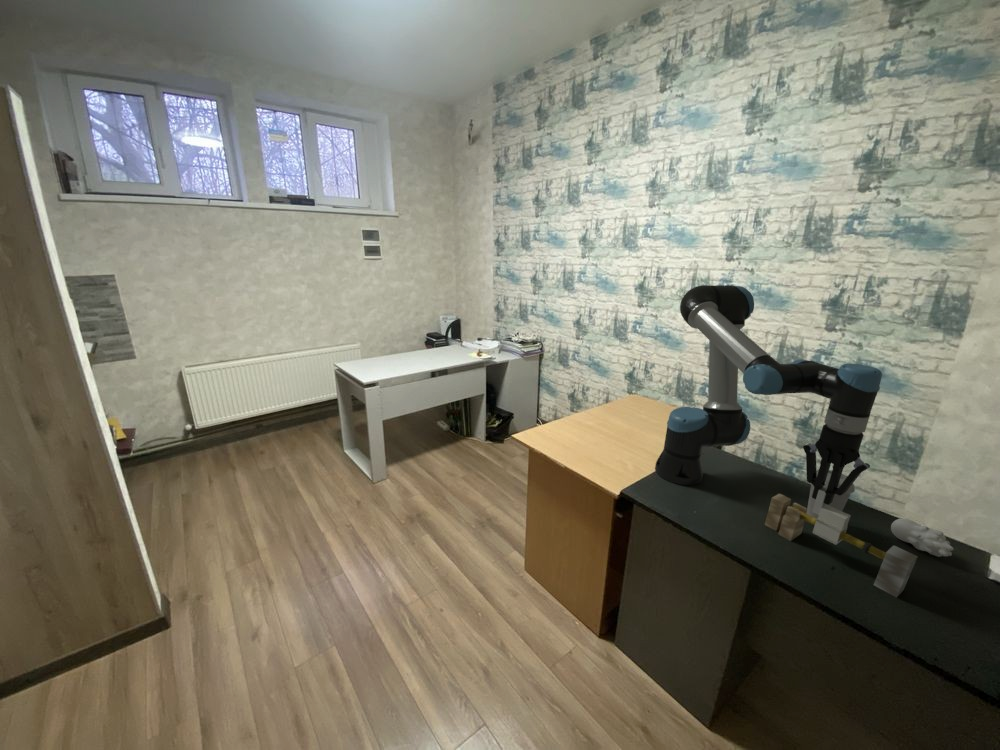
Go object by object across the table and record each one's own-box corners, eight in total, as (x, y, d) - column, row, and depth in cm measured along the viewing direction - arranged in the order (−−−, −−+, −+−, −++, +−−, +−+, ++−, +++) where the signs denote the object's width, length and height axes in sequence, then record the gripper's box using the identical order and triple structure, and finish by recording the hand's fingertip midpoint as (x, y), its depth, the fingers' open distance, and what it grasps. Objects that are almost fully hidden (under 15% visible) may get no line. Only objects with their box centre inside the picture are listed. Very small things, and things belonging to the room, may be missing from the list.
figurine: (902, 520, 109) (964, 547, 98) (889, 539, 108) (949, 568, 98) (896, 509, 106) (959, 535, 95) (882, 528, 106) (944, 557, 95)
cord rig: (762, 525, 110) (770, 496, 107) (773, 519, 113) (781, 490, 110) (895, 599, 87) (909, 565, 84) (904, 588, 90) (918, 555, 87)
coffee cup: (849, 536, 106) (865, 488, 102) (810, 530, 108) (824, 484, 104) (828, 514, 115) (842, 469, 111) (792, 509, 117) (805, 465, 113)
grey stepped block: (812, 532, 100) (820, 508, 98) (819, 527, 102) (827, 503, 100) (835, 545, 96) (844, 519, 94) (843, 539, 98) (851, 514, 96)
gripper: (804, 421, 97) (782, 502, 103) (872, 442, 86) (842, 531, 93) (818, 416, 100) (796, 494, 107) (885, 435, 89) (855, 521, 96)
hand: (818, 511), depth 100 cm, fingers closed
